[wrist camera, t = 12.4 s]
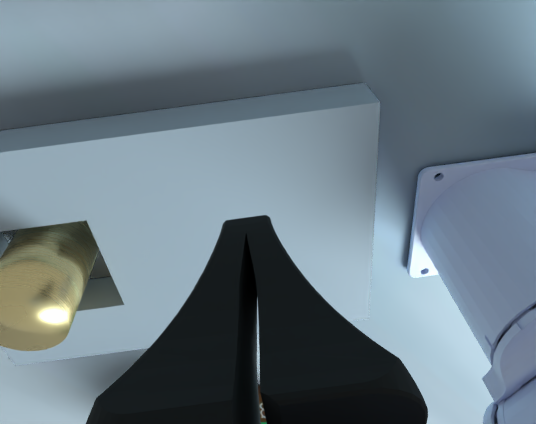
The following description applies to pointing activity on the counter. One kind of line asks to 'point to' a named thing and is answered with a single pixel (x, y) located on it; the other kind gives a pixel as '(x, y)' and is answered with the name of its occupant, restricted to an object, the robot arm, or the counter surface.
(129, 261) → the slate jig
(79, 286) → the gold metal cylinder
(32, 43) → the counter surface
